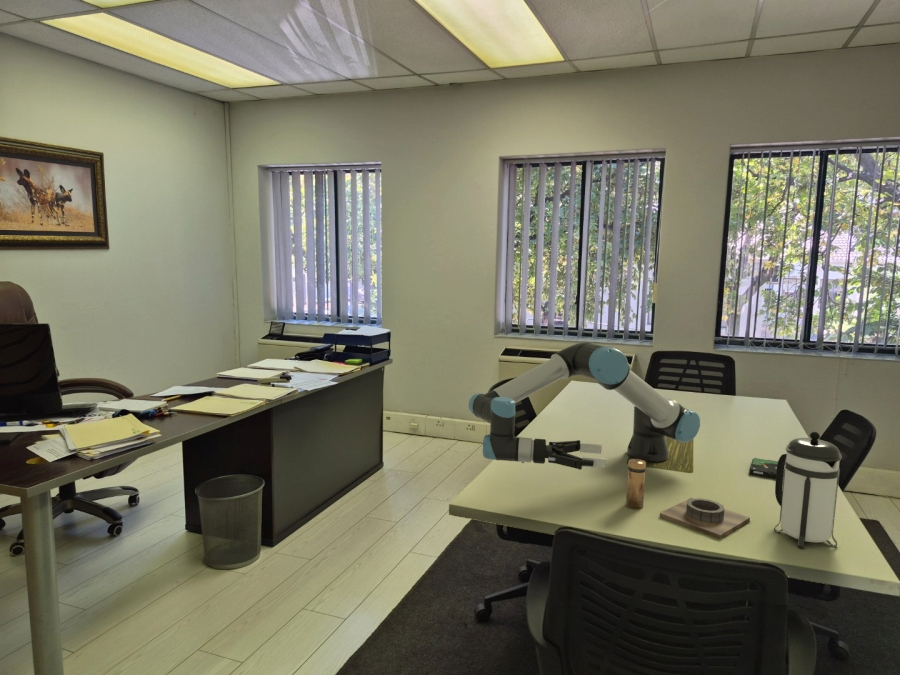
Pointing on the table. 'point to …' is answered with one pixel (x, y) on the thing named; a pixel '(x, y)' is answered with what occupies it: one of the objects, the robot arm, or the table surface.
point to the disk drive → (763, 468)
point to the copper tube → (635, 483)
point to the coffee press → (808, 489)
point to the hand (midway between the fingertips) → (603, 456)
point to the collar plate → (705, 526)
